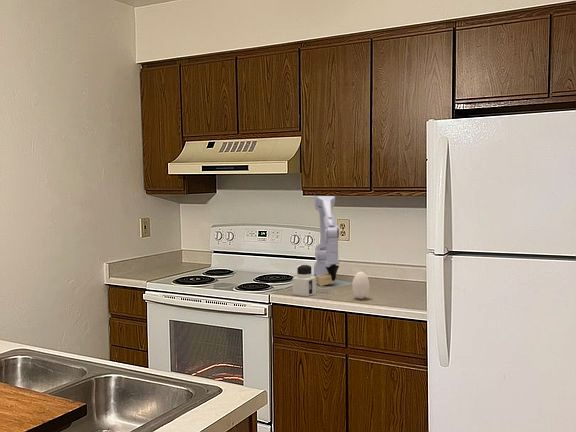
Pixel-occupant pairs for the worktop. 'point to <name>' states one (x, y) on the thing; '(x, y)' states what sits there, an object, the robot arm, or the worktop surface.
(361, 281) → the egg
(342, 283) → the board
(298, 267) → the container
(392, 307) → the worktop surface
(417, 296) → the worktop surface
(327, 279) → the oak block
